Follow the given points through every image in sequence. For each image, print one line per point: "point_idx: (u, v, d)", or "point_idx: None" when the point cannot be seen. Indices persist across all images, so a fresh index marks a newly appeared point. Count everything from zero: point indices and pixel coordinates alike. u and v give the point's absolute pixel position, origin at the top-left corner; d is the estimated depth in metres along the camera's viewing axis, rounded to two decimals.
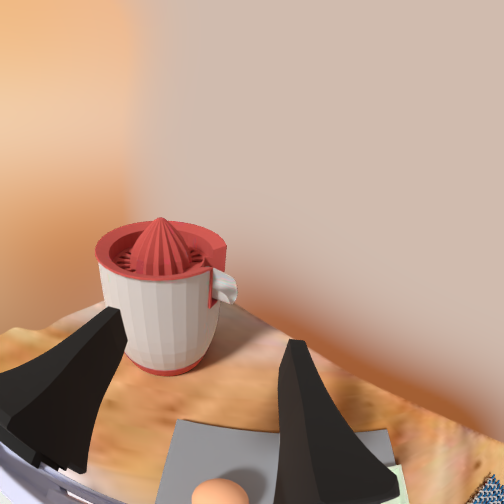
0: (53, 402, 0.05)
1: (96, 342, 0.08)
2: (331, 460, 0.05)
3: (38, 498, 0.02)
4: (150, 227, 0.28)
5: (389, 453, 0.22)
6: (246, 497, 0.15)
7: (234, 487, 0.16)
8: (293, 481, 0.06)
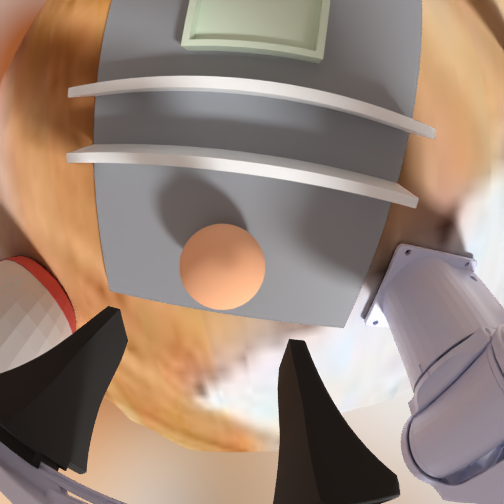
0: (53, 402, 0.05)
1: (96, 342, 0.08)
2: (332, 460, 0.05)
3: (38, 498, 0.02)
4: None
5: None
6: (211, 242, 0.14)
7: (193, 266, 0.14)
8: (293, 481, 0.06)
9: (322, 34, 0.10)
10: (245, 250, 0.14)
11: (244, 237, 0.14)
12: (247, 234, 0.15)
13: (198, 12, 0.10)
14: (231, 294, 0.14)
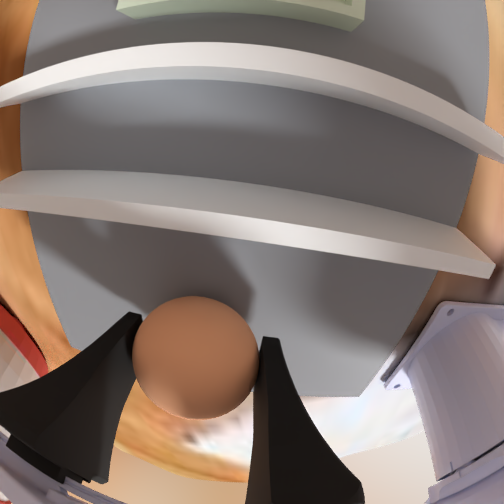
0: (79, 415, 0.05)
1: (119, 349, 0.08)
2: (291, 461, 0.05)
3: (38, 498, 0.02)
4: None
5: None
6: (170, 343, 0.08)
7: (146, 376, 0.08)
8: (257, 480, 0.06)
9: None
10: (225, 355, 0.08)
11: (225, 330, 0.09)
12: (230, 321, 0.09)
13: None
14: (207, 413, 0.08)
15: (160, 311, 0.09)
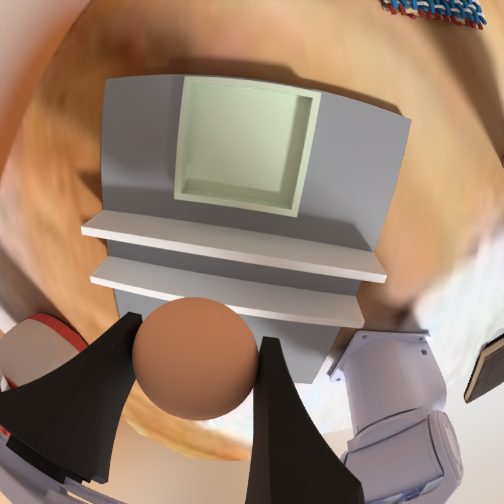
0: (79, 415, 0.05)
1: (119, 349, 0.08)
2: (291, 461, 0.05)
3: (38, 498, 0.02)
4: None
5: (154, 82, 0.13)
6: (170, 343, 0.08)
7: (146, 376, 0.08)
8: (257, 480, 0.06)
9: (298, 192, 0.15)
10: (224, 355, 0.08)
11: (224, 330, 0.09)
12: (230, 321, 0.09)
13: (186, 156, 0.15)
14: (206, 414, 0.08)
15: (160, 312, 0.09)
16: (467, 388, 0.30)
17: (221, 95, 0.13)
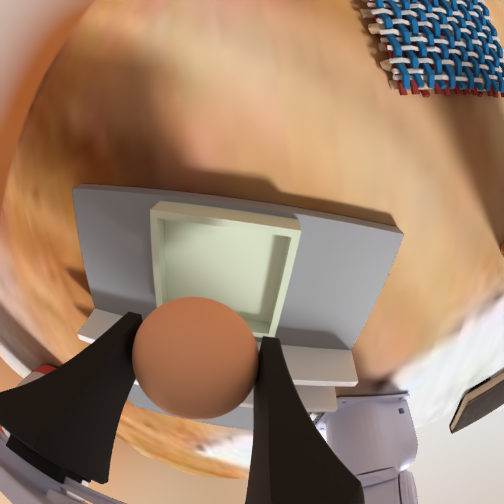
0: (79, 415, 0.05)
1: (119, 349, 0.08)
2: (290, 461, 0.05)
3: (38, 498, 0.02)
4: None
5: (122, 200, 0.14)
6: (170, 343, 0.08)
7: (145, 376, 0.08)
8: (257, 480, 0.06)
9: (275, 321, 0.16)
10: (224, 355, 0.08)
11: (224, 330, 0.09)
12: (230, 321, 0.09)
13: (165, 282, 0.16)
14: (206, 414, 0.08)
15: (160, 312, 0.09)
16: (452, 420, 0.30)
17: (193, 224, 0.14)
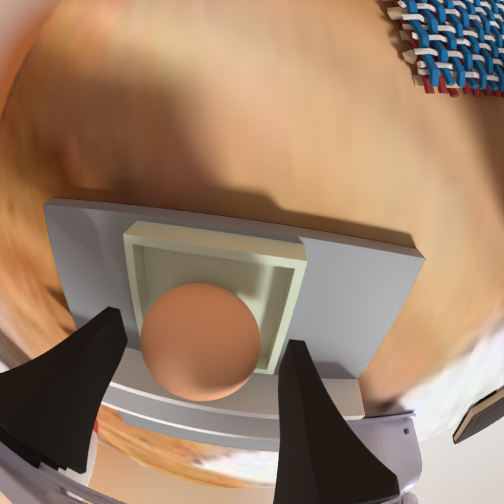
0: (53, 402, 0.05)
1: (96, 342, 0.08)
2: (332, 460, 0.05)
3: (38, 498, 0.02)
4: None
5: (95, 219, 0.11)
6: (178, 323, 0.09)
7: (154, 356, 0.09)
8: (293, 481, 0.06)
9: (274, 358, 0.13)
10: (229, 334, 0.09)
11: (228, 311, 0.09)
12: (233, 304, 0.10)
13: None
14: (211, 393, 0.09)
15: (168, 296, 0.10)
16: (456, 432, 0.28)
17: None
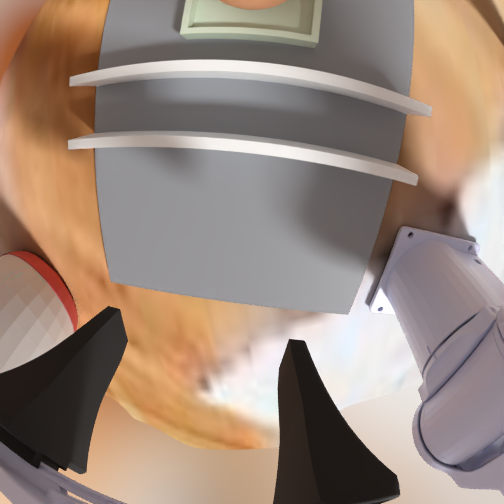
0: (53, 402, 0.05)
1: (96, 342, 0.08)
2: (331, 460, 0.05)
3: (38, 498, 0.02)
4: None
5: None
6: None
7: None
8: (293, 481, 0.06)
9: (316, 19, 0.10)
10: None
11: None
12: None
13: (196, 2, 0.10)
14: None
15: None
16: None
17: None
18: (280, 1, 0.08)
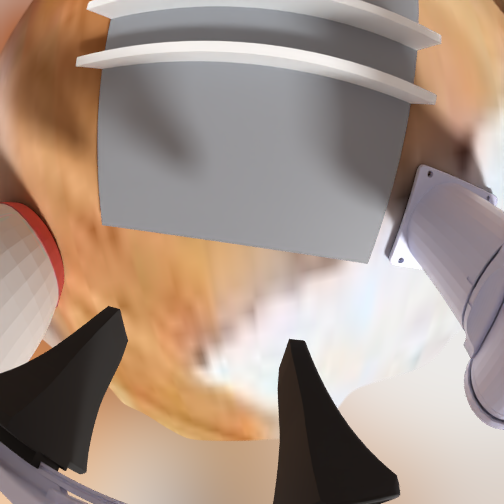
0: (53, 402, 0.05)
1: (96, 342, 0.08)
2: (332, 460, 0.05)
3: (38, 498, 0.02)
4: None
5: None
6: None
7: None
8: (293, 481, 0.06)
9: None
10: None
11: None
12: None
13: None
14: None
15: None
16: None
17: None
18: None
